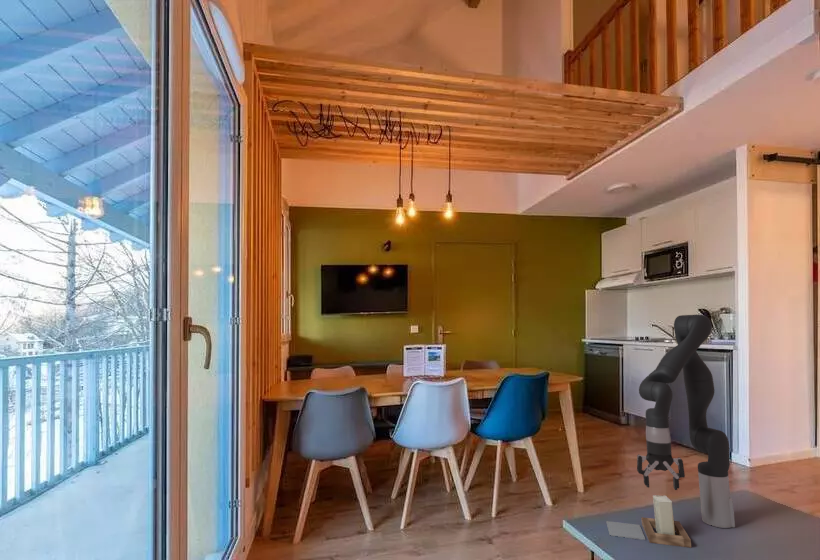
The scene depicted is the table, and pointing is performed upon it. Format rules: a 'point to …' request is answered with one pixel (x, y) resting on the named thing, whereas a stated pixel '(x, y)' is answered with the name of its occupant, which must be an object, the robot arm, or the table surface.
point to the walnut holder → (666, 539)
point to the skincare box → (663, 515)
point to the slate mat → (625, 530)
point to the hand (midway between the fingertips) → (661, 488)
